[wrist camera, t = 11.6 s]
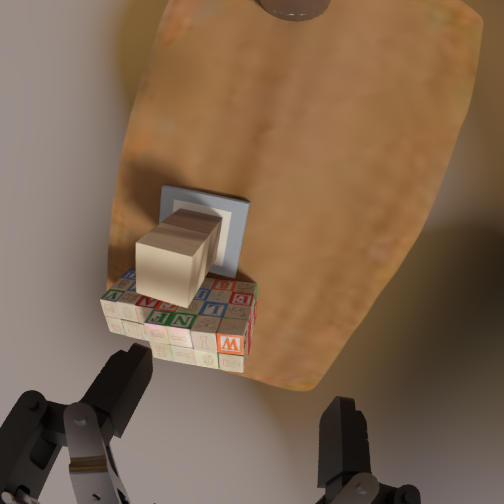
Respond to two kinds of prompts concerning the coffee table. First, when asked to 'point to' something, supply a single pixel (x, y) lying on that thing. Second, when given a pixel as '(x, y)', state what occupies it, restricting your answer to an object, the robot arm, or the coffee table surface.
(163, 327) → the stack of blocks
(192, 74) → the coffee table surface
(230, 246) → the build board
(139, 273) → the maple block
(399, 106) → the coffee table surface
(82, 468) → the robot arm
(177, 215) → the walnut block
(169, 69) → the coffee table surface
